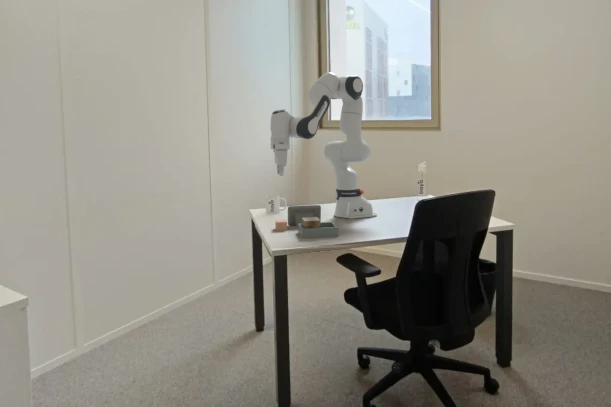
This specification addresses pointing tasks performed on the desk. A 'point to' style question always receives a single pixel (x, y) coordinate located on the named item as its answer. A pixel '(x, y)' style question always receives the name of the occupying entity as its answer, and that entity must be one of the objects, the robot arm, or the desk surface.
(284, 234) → the desk surface
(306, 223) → the block
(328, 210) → the desk surface
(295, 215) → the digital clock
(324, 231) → the tote
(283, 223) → the light cube
